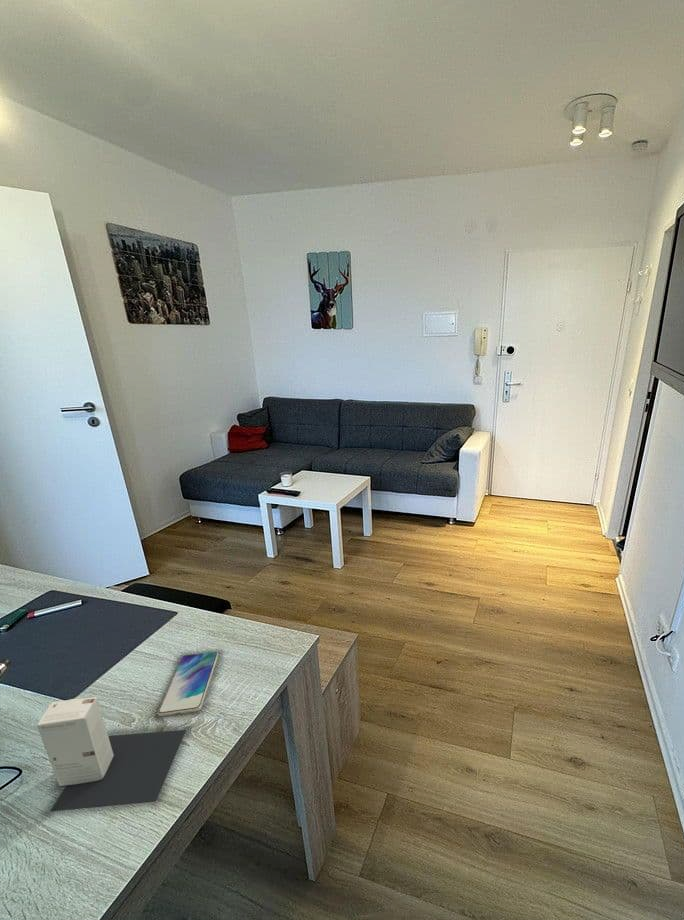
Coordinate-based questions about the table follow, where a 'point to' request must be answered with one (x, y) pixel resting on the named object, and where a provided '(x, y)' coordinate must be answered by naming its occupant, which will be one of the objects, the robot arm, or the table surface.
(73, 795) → the mat
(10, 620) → the table surface
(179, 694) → the smartphone
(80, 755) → the cosmetic box
